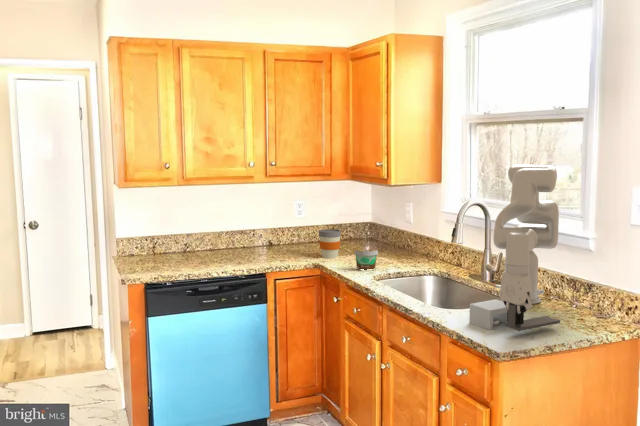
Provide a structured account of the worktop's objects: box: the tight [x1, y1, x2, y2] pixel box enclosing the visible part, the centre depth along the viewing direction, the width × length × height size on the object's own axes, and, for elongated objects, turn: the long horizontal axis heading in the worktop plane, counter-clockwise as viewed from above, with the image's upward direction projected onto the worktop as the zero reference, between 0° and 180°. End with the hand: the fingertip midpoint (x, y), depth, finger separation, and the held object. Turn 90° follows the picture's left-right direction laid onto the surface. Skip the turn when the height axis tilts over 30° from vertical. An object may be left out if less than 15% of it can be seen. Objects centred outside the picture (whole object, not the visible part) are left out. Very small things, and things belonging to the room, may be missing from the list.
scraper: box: [504, 304, 561, 332], centre depth 213 cm, size 20×6×8 cm, turn 120°
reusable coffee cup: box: [318, 228, 342, 259], centre depth 352 cm, size 13×12×15 cm
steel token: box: [493, 317, 501, 327], centre depth 225 cm, size 5×5×2 cm
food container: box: [353, 249, 379, 270], centre depth 317 cm, size 12×6×10 cm, turn 92°
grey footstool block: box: [468, 299, 508, 331], centre depth 224 cm, size 13×10×7 cm
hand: (515, 322), depth 209 cm, fingers closed on scraper, 3 cm apart
